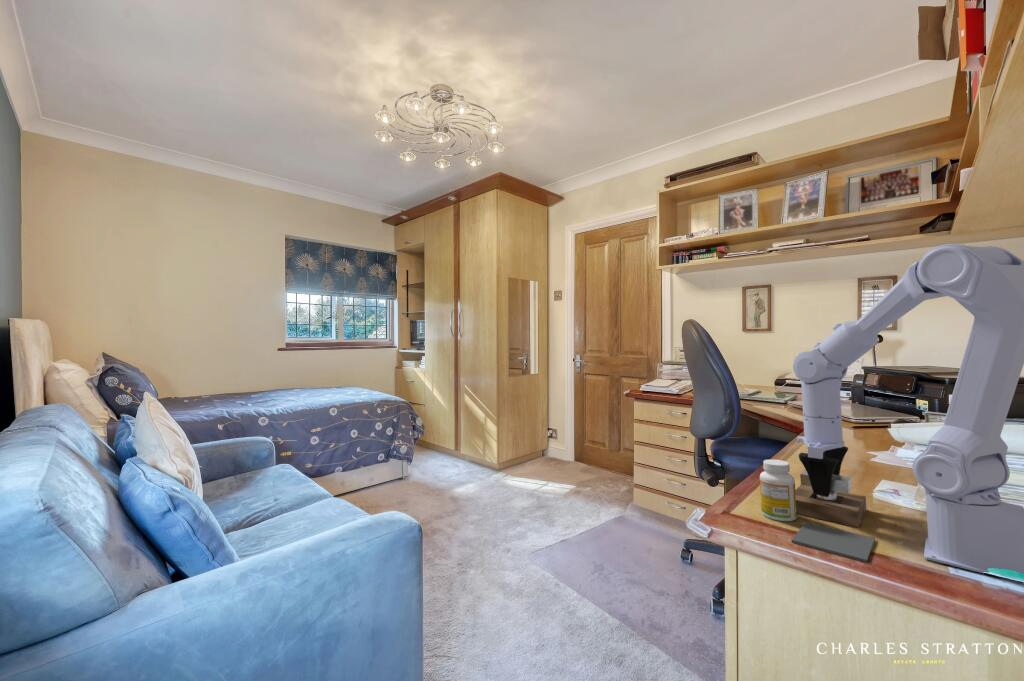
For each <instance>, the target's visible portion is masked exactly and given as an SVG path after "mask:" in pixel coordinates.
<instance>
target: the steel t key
mask: <svg viewBox="0 0 1024 681" xmlns="http://www.w3.org/2000/svg"><path fill="white" fill-rule="evenodd" d="M799 475H800V485H805V486H811V483H810V479H809V476H808V473H807V471H806V469H804V470H803V471H802V472H801V473H800V474H799ZM811 487H812V486H811ZM852 488H853V484H852V476H848V475H834V474H833V476H832V483H831V490H830V494H829V496H828V497H826V496H820V495H816V498H817V499H818V500H823V501H828V502H833V503H837V493H836V491H838V492H844V493H851V490H852Z"/></svg>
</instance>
